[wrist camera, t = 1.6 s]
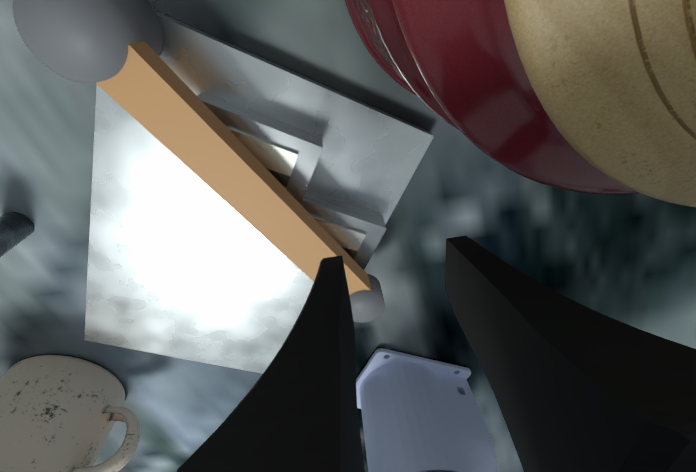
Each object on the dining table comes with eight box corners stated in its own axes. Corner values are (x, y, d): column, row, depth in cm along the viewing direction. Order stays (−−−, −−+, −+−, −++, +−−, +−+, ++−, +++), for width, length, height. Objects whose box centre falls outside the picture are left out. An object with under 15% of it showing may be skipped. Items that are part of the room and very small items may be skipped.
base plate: (428, 131, 19) (456, 158, 15) (300, 370, 30) (298, 422, 26) (-27, -70, 13) (-162, -104, 10) (11, 313, 24) (-47, 369, 20)
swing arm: (63, 19, 14) (-8, 19, 11) (110, -40, 13) (48, -57, 10) (349, 293, 23) (354, 335, 20) (388, 269, 23) (399, 309, 20)
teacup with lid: (40, 421, 31) (-90, 612, 21) (-21, 354, 26) (-228, 563, 16) (178, 410, 31) (115, 589, 21) (144, 343, 26) (43, 535, 17)
